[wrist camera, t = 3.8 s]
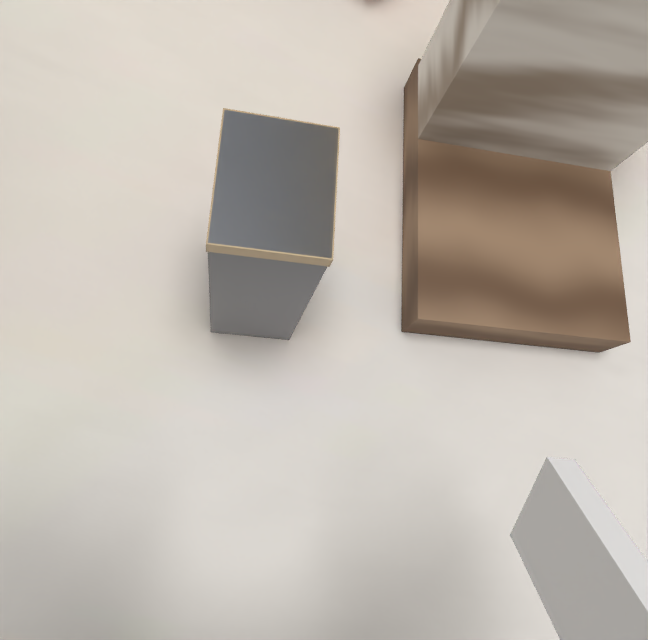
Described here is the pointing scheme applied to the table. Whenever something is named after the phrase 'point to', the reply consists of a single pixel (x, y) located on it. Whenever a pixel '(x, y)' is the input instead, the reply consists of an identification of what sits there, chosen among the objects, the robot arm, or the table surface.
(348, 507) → the table surface
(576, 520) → the robot arm
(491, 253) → the stand
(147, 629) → the table surface
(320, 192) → the case
